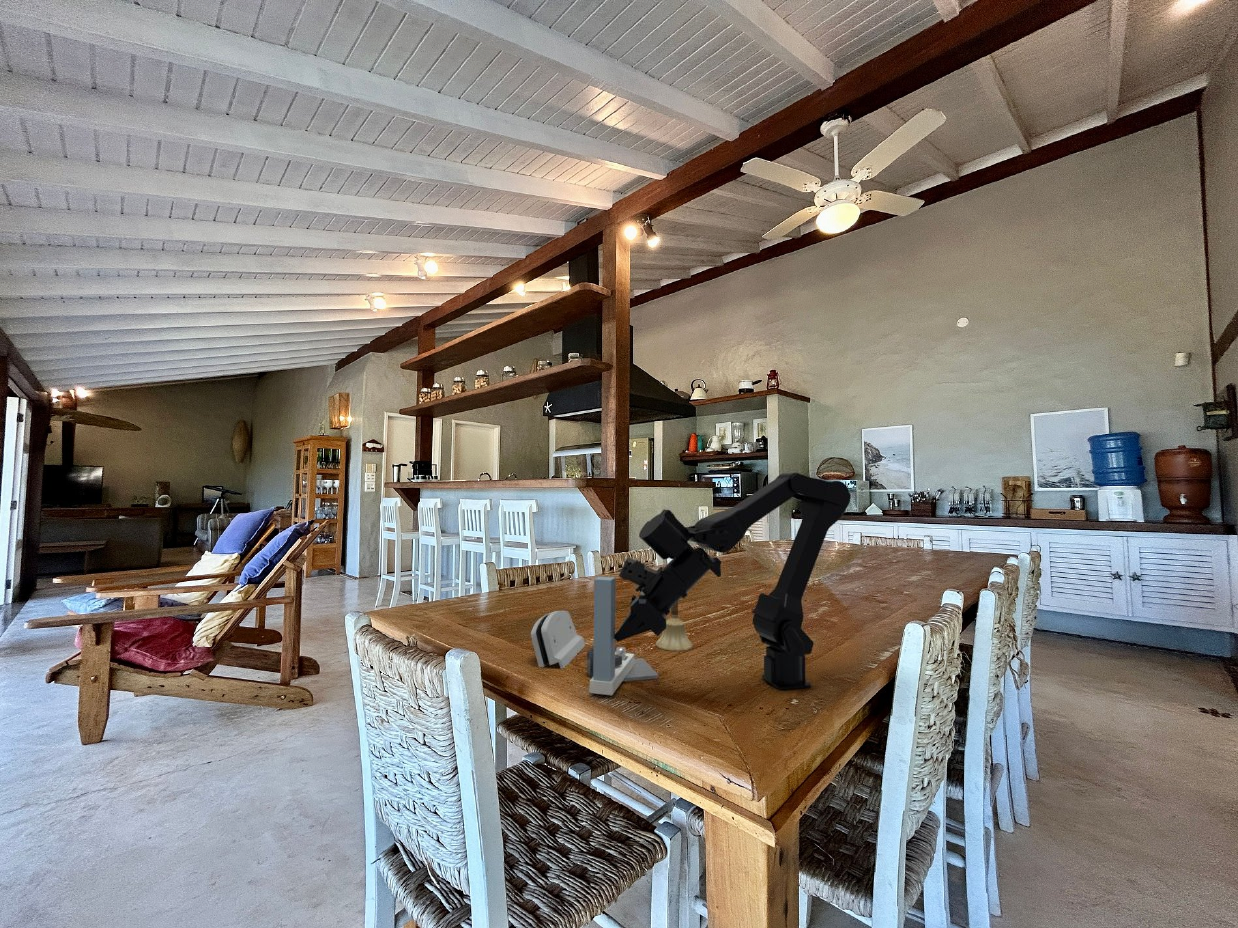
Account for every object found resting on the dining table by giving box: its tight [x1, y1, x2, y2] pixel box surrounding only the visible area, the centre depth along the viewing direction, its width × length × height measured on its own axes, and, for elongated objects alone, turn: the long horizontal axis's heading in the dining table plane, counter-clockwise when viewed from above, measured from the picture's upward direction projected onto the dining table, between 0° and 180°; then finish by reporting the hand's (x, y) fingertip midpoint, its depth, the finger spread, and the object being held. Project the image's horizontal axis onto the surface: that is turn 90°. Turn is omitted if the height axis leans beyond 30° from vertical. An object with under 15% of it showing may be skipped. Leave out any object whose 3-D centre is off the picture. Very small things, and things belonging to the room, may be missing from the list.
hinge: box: [530, 610, 586, 670], centre depth 109 cm, size 17×5×10 cm, turn 168°
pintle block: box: [586, 646, 659, 683], centre depth 98 cm, size 13×11×4 cm
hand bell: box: [655, 601, 693, 652], centre depth 116 cm, size 8×8×16 cm
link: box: [589, 576, 635, 696], centre depth 95 cm, size 16×4×19 cm, turn 165°
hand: (615, 638), depth 89 cm, fingers closed
